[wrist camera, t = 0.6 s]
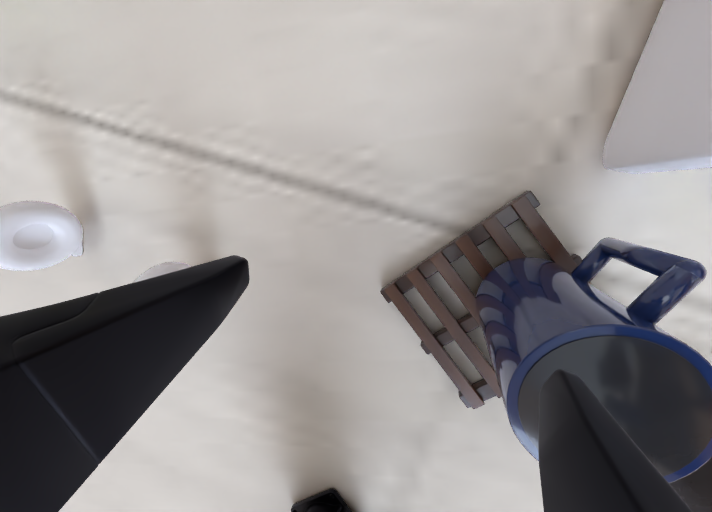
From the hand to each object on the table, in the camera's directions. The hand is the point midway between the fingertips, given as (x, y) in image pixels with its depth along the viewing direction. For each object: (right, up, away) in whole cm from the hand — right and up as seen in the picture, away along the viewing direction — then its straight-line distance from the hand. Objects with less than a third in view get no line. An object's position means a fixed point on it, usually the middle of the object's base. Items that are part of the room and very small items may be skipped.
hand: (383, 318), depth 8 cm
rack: (+10, -2, +15) cm, 18 cm away
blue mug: (+12, 0, +12) cm, 17 cm away
